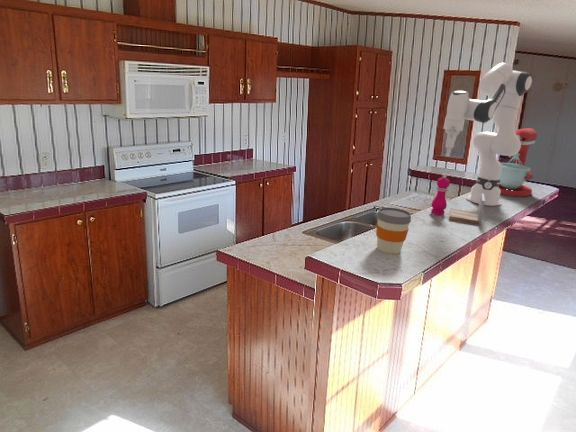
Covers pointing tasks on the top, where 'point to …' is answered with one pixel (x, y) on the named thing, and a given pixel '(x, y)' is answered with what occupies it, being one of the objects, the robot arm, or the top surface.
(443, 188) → the pepper mill
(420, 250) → the top surface
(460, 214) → the bookend
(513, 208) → the top surface
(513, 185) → the stand mixer
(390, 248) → the reusable coffee cup
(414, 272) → the top surface
